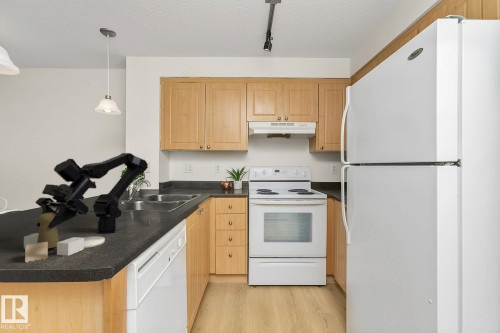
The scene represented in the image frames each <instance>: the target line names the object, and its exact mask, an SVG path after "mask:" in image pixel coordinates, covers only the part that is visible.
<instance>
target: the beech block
mask: <svg viewBox="0 0 500 333" xmlns="http://www.w3.org/2000/svg"><path fill="white" fill-rule="evenodd" d="M24 249H25V252H24V254H25V257H24V262H26V263H30V262H29V261H31V262H36V261H35V260H37V261H40V260H41V259H43V260H48V259H47V258H48V255H49V254H48V252H49V251H48V250H49V248H48V242H42V243H35V244H29V245H26V248H24Z"/></svg>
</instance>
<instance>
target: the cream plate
mask: <svg viewBox="0 0 500 333" xmlns="http://www.w3.org/2000/svg"><path fill="white" fill-rule="evenodd" d="M82 238H84V249H89V248H93V247H97V246H100V245H103V244H104V243H105V242H106V241H105V240H106V238H105V237H104V236H98V235H97V236H94V235H93V236H84V237H83V236H82Z"/></svg>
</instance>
